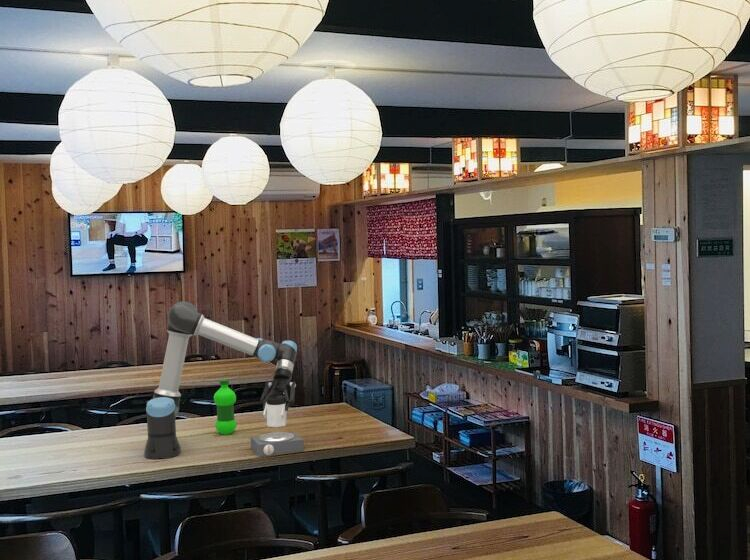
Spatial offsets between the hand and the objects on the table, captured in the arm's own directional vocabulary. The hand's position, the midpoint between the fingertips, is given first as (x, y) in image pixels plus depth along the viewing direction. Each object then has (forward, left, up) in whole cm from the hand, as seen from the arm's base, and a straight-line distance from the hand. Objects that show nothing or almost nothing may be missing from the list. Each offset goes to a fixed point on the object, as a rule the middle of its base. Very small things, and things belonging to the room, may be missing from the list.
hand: (273, 416), depth 344 cm
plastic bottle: (-12, +44, -15) cm, 48 cm away
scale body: (+2, +3, -15) cm, 15 cm away
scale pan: (+2, +3, -10) cm, 11 cm away
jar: (+2, +3, -5) cm, 6 cm away
